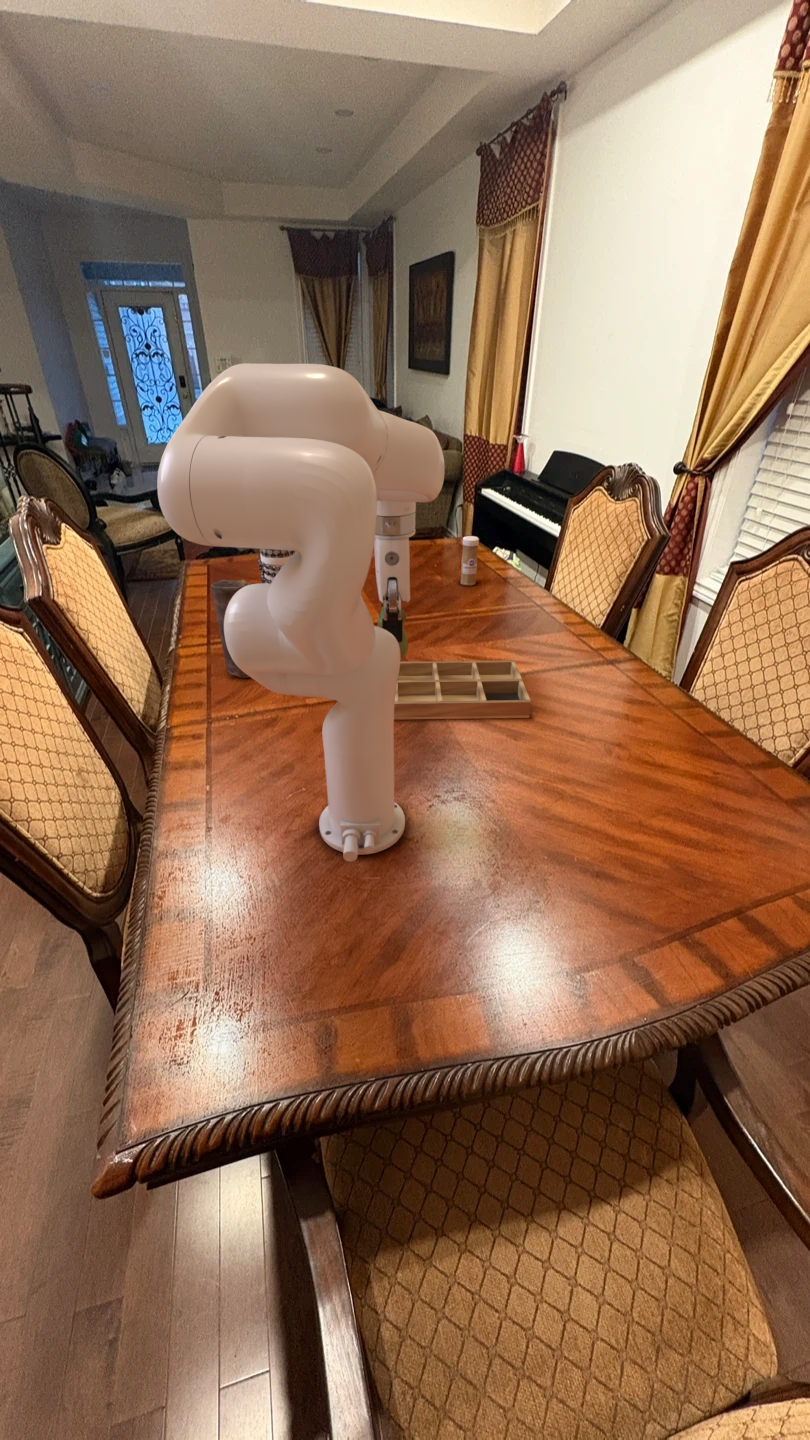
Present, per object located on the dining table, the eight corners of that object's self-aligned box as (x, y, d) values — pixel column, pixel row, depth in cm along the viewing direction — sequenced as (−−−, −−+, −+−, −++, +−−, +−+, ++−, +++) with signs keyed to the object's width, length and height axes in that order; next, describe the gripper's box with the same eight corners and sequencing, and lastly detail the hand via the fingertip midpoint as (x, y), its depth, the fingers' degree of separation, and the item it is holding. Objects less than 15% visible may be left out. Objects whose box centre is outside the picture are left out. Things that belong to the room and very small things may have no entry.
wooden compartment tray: (529, 717, 115) (531, 701, 113) (394, 719, 115) (394, 703, 113) (512, 674, 130) (514, 660, 128) (393, 676, 129) (392, 661, 127)
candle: (219, 674, 130) (202, 583, 119) (241, 660, 136) (228, 573, 125) (246, 682, 127) (232, 590, 116) (269, 667, 133) (257, 578, 122)
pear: (396, 650, 107) (394, 596, 101) (414, 660, 103) (414, 605, 98) (370, 659, 104) (367, 604, 98) (388, 670, 100) (386, 613, 95)
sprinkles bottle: (465, 587, 176) (468, 540, 169) (457, 582, 179) (459, 536, 172) (478, 584, 178) (482, 538, 170) (470, 580, 181) (473, 534, 174)
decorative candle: (264, 633, 148) (250, 529, 135) (301, 627, 151) (291, 525, 138) (272, 648, 141) (258, 540, 127) (311, 641, 144) (301, 535, 131)
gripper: (419, 539, 84) (418, 656, 94) (411, 508, 98) (410, 613, 108) (365, 540, 84) (369, 658, 94) (365, 509, 98) (368, 614, 108)
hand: (391, 633), depth 101 cm, fingers closed on pear, 5 cm apart
